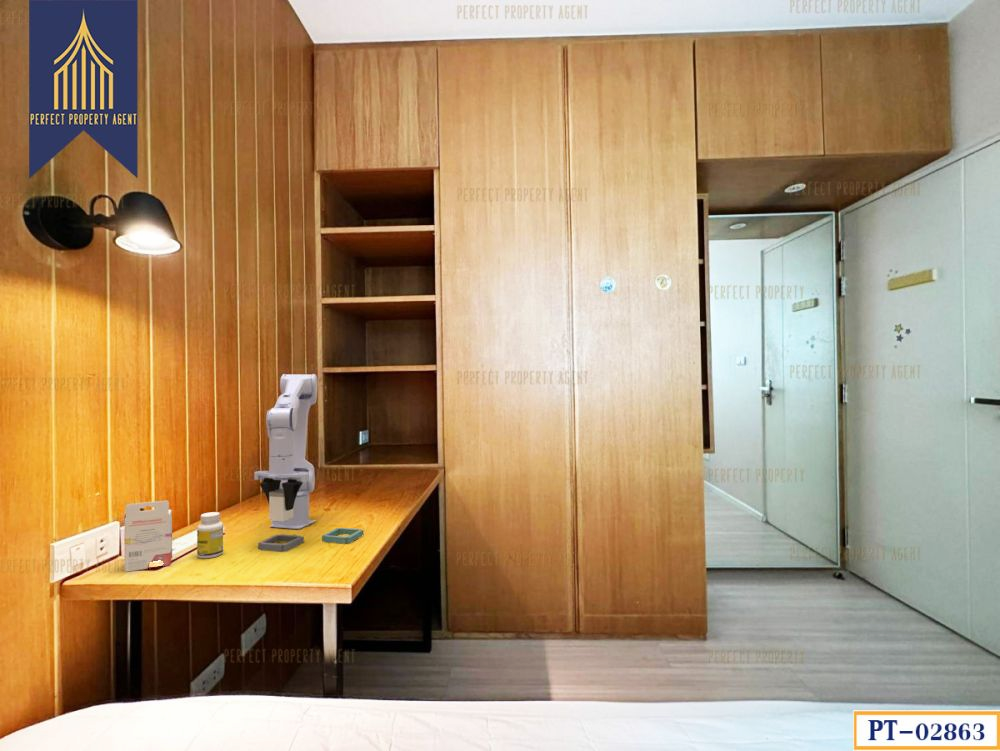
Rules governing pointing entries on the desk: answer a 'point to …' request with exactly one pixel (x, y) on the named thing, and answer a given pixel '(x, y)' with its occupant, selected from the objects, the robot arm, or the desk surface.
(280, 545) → the socket
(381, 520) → the desk surface
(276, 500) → the plug
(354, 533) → the socket
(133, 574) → the desk surface
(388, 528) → the desk surface
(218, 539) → the supplement bottle
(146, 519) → the ink cartridge box
